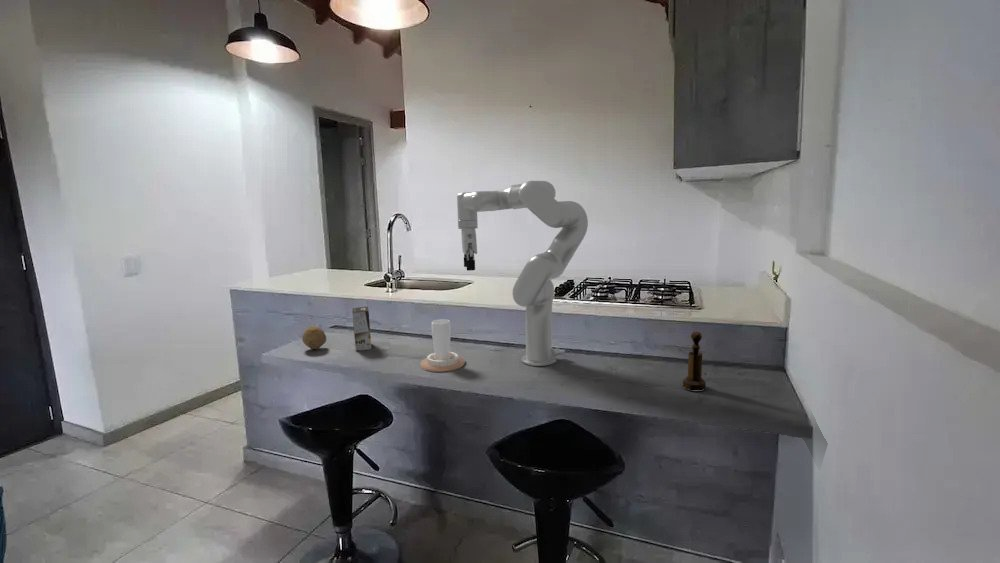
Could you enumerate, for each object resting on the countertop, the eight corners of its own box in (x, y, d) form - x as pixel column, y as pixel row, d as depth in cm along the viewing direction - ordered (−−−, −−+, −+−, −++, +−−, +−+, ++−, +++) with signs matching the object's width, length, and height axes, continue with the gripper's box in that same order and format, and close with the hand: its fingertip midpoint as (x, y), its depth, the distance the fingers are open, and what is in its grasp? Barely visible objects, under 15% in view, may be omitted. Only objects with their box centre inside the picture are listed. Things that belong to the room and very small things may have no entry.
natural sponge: (297, 351, 195) (295, 327, 194) (314, 345, 203) (311, 322, 202) (315, 353, 192) (312, 329, 190) (330, 347, 200) (328, 324, 198)
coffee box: (371, 349, 196) (368, 310, 193) (355, 351, 194) (352, 312, 191) (370, 343, 204) (368, 306, 202) (355, 344, 203) (352, 307, 200)
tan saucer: (462, 355, 185) (462, 347, 185) (466, 369, 170) (466, 361, 169) (420, 358, 183) (419, 351, 182) (421, 373, 167) (420, 365, 167)
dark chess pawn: (687, 382, 154) (689, 327, 150) (708, 386, 150) (711, 330, 146) (679, 389, 149) (682, 332, 145) (701, 394, 145) (704, 336, 141)
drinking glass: (448, 364, 173) (447, 324, 170) (430, 364, 174) (428, 323, 171) (454, 358, 179) (452, 319, 176) (436, 357, 180) (434, 318, 178)
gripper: (480, 225, 178) (482, 271, 181) (474, 223, 195) (476, 265, 198) (460, 226, 177) (462, 272, 180) (456, 223, 194) (457, 266, 197)
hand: (469, 268), depth 189 cm, fingers open, 9 cm apart
